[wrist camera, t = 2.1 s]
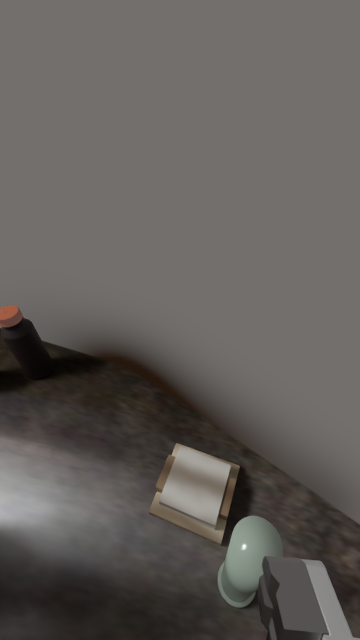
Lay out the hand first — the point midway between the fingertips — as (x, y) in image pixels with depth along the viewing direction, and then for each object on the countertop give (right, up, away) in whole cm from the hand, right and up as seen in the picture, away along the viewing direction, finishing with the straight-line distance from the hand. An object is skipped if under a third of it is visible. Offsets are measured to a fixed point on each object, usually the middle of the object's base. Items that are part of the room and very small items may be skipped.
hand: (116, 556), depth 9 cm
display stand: (+5, -25, +48) cm, 54 cm away
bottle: (-34, -6, +71) cm, 79 cm away
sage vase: (+10, -34, +38) cm, 52 cm away
